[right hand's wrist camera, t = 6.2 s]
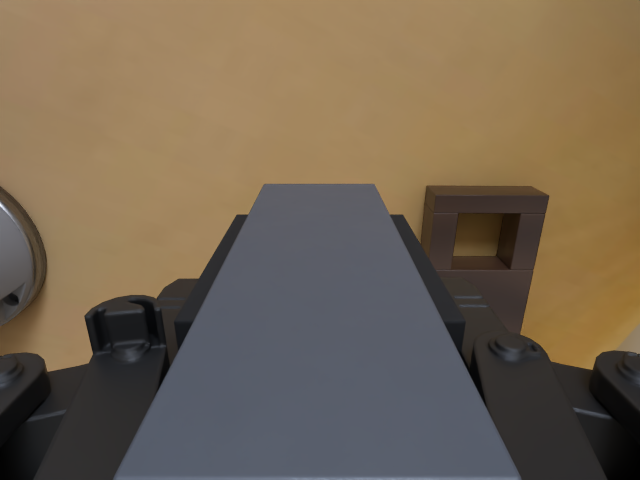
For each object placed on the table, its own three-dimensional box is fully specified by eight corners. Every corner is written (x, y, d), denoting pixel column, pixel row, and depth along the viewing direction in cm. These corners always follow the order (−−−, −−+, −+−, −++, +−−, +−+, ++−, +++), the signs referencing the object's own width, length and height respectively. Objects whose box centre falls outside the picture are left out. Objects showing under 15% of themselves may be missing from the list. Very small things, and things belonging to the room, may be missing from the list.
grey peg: (370, 283, 17) (472, 706, 6) (268, 283, 17) (163, 706, 6) (374, 183, 15) (526, 481, 4) (263, 183, 15) (107, 481, 4)
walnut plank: (478, 457, 48) (519, 550, 38) (398, 457, 47) (419, 551, 38) (531, 186, 36) (606, 225, 27) (426, 185, 36) (465, 224, 27)
